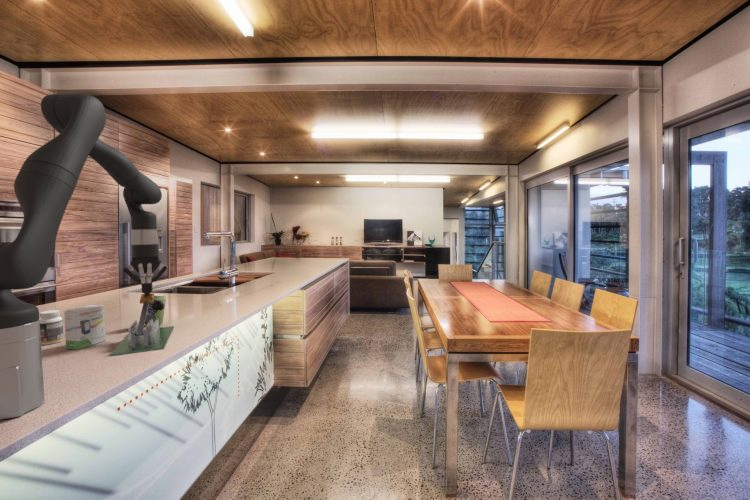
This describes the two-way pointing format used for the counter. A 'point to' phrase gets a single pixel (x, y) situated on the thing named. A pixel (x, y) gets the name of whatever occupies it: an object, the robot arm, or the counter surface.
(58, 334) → the pill bottle
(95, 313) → the ink box
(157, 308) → the beverage can
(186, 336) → the counter surface
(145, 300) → the grey and orange bar
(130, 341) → the heatsink board
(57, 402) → the counter surface
